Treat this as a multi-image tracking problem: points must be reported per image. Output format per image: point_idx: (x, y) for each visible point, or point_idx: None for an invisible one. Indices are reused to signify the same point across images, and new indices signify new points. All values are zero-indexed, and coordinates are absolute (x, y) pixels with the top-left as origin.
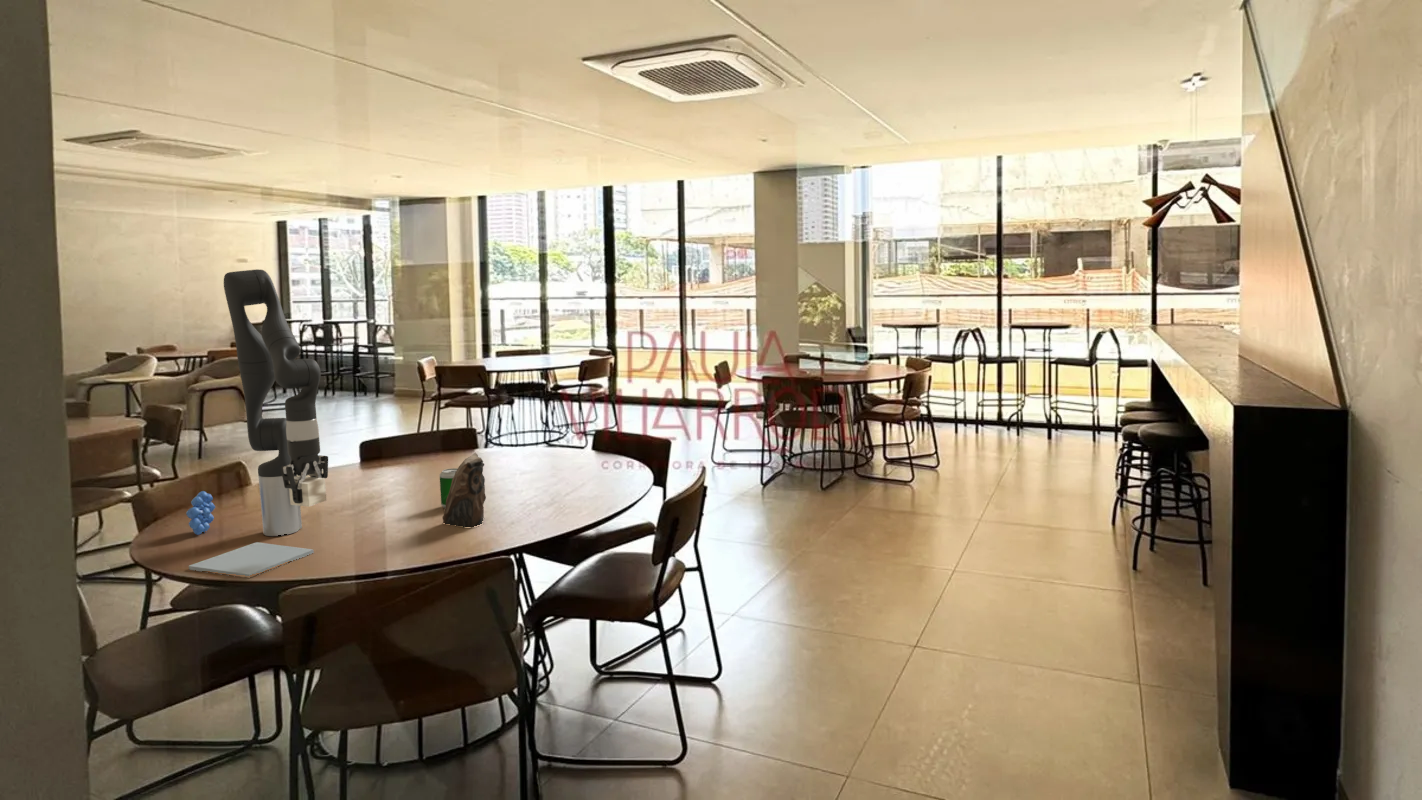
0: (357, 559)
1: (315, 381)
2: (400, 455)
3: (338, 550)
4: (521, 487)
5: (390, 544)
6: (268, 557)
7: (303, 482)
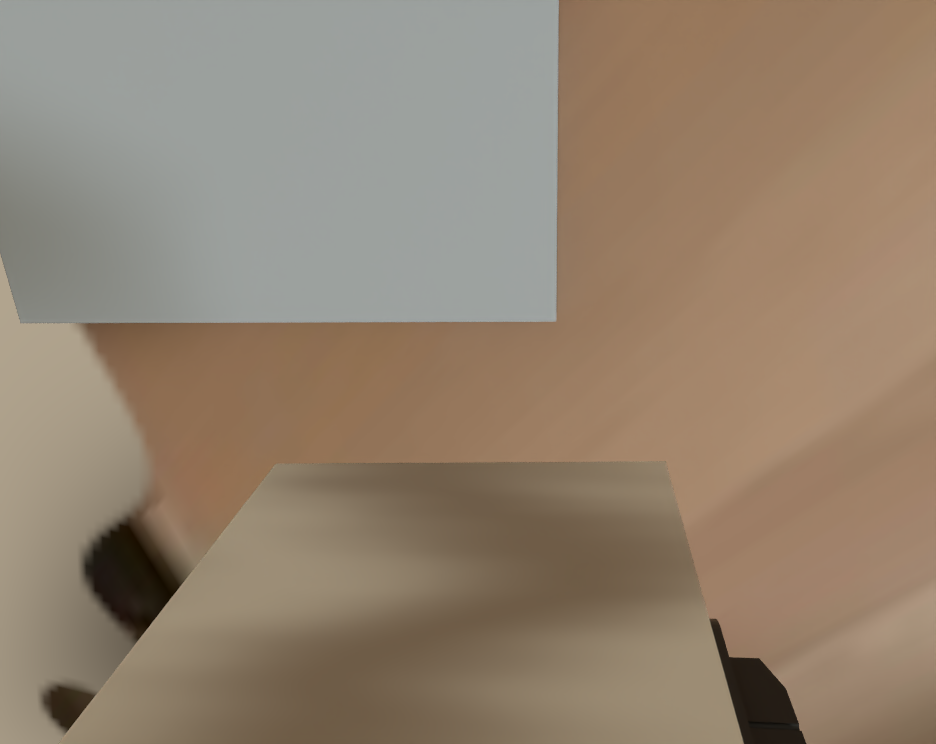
0: None
1: None
2: None
3: (662, 430)
4: None
5: (862, 649)
6: (284, 144)
7: None
